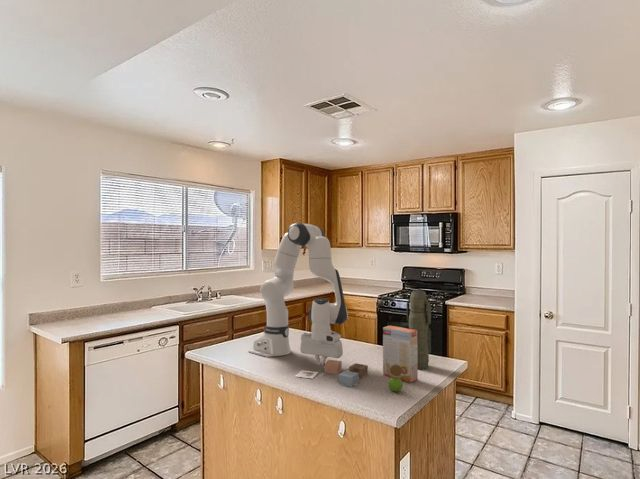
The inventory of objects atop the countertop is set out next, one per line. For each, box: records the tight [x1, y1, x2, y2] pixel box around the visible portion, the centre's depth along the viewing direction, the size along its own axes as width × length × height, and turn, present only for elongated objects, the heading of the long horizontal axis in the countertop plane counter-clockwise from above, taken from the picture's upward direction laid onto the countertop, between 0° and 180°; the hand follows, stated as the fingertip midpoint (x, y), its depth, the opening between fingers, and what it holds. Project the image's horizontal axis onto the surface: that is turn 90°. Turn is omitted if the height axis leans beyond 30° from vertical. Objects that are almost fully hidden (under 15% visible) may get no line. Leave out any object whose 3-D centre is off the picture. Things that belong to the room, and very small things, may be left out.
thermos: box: [406, 289, 432, 370], centre depth 179 cm, size 9×12×35 cm
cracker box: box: [382, 325, 419, 383], centre depth 165 cm, size 14×6×21 cm, turn 43°
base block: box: [348, 362, 369, 379], centre depth 168 cm, size 6×6×4 cm
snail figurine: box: [386, 359, 404, 393], centre depth 150 cm, size 5×6×12 cm
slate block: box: [338, 370, 360, 388], centre depth 158 cm, size 6×6×4 cm
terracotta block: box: [324, 359, 343, 375], centre depth 173 cm, size 6×6×4 cm
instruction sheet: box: [294, 369, 319, 380], centre depth 168 cm, size 8×8×1 cm
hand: (321, 365), depth 176 cm, fingers closed
